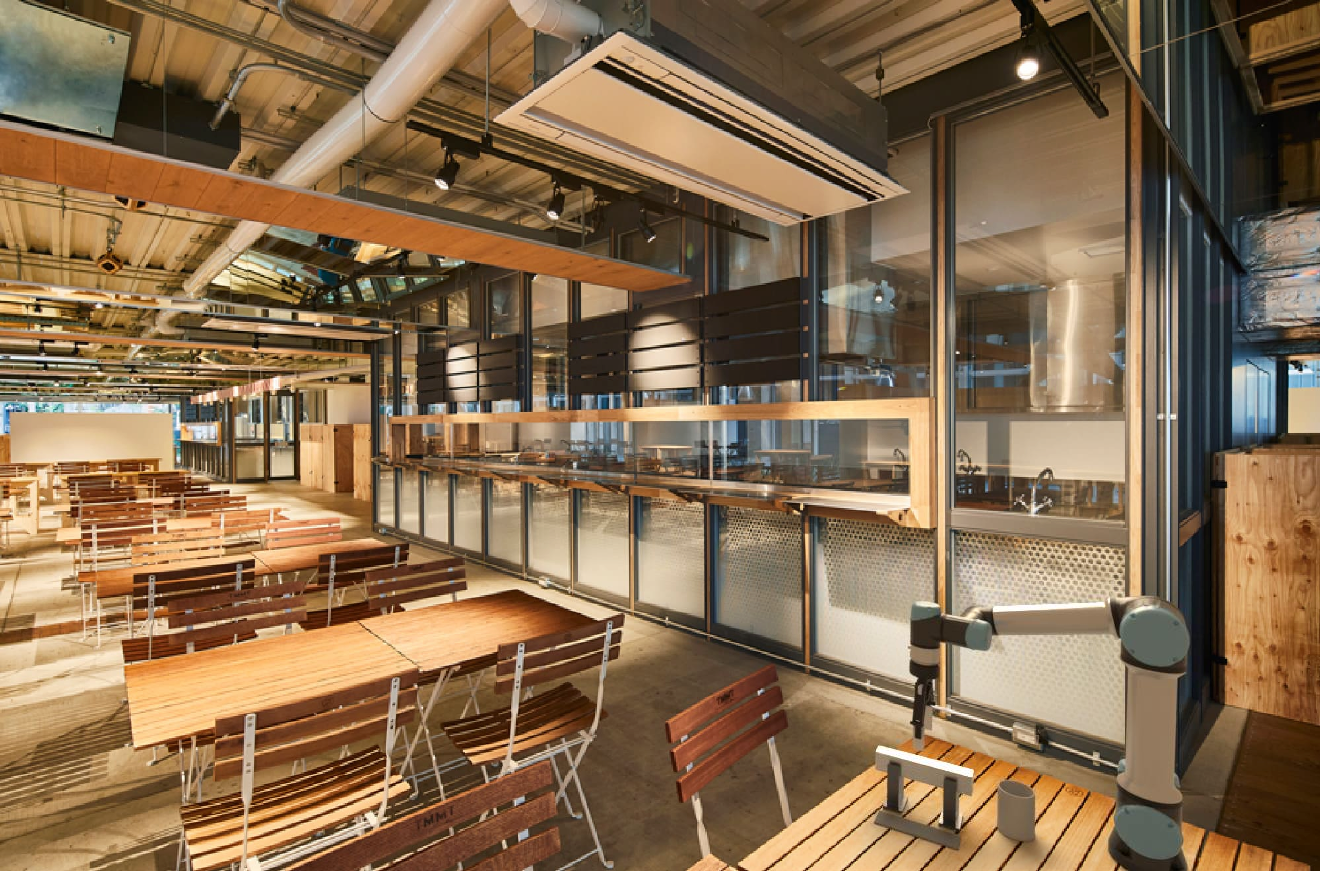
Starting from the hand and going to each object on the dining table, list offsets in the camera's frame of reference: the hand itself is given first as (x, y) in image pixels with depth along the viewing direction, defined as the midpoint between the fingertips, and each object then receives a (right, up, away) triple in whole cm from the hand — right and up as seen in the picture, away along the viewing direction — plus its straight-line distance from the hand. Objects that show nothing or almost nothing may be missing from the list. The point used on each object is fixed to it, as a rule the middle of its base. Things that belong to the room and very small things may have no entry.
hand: (922, 739), depth 170 cm
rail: (0, -11, 0) cm, 11 cm away
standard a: (+6, -20, -4) cm, 21 cm away
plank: (-5, -20, -8) cm, 22 cm away
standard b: (-6, -20, +4) cm, 21 cm away
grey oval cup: (+21, -20, -6) cm, 30 cm away
